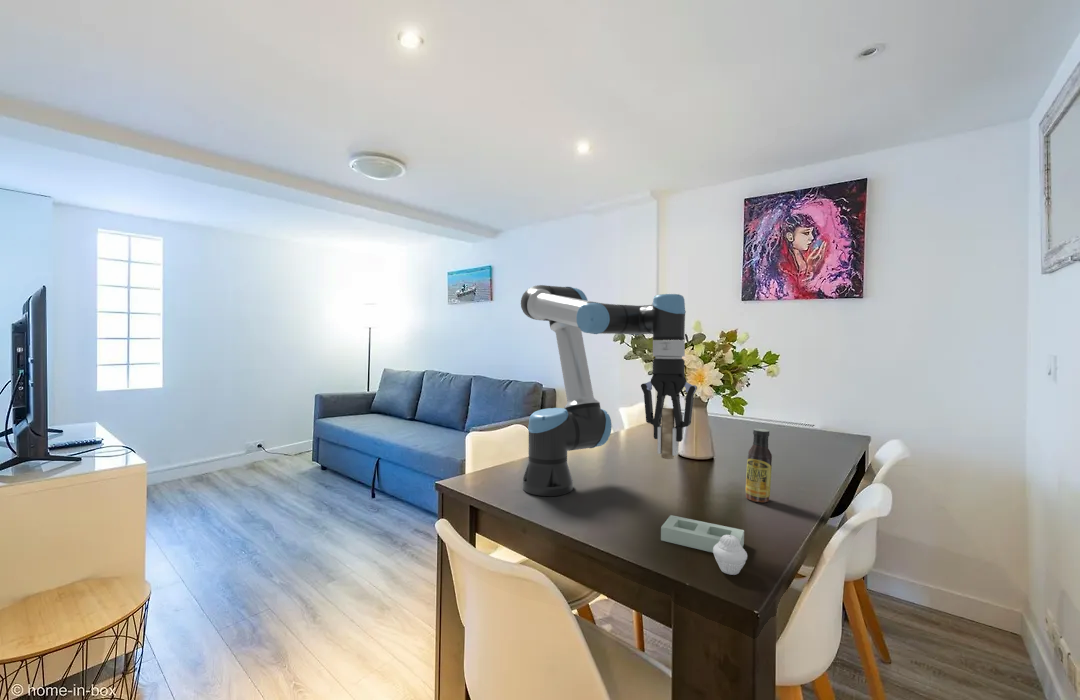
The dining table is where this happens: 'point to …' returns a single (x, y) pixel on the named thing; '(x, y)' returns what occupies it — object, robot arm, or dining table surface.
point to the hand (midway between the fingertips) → (667, 453)
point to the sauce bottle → (759, 468)
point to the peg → (667, 432)
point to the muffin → (729, 554)
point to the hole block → (696, 533)
